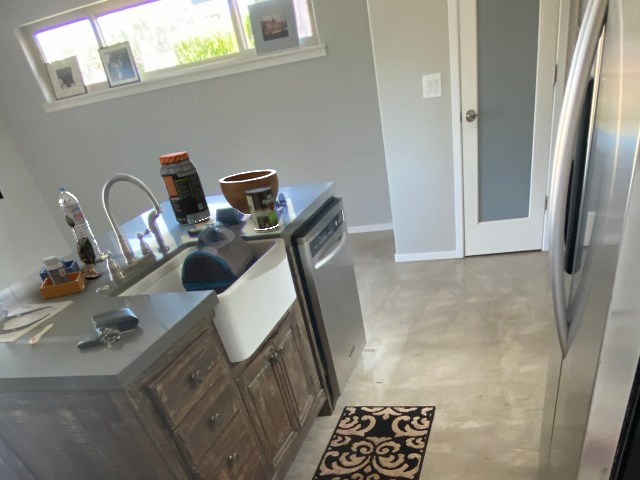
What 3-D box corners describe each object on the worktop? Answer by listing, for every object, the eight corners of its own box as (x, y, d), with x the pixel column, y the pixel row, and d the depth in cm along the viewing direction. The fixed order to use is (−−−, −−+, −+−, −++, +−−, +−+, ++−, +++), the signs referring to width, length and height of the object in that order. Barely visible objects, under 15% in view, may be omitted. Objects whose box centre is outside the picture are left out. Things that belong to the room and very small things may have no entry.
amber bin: (44, 299, 172) (38, 288, 170) (50, 288, 181) (45, 278, 179) (82, 291, 174) (77, 280, 172) (86, 281, 183) (81, 270, 181)
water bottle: (101, 256, 208) (69, 184, 191) (105, 259, 203) (72, 186, 186) (84, 261, 205) (50, 188, 188) (87, 264, 201) (52, 190, 184)
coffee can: (285, 225, 212) (276, 186, 202) (269, 233, 205) (259, 192, 196) (265, 225, 216) (256, 186, 207) (249, 232, 210) (239, 192, 200)
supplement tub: (213, 214, 245) (194, 148, 228) (209, 222, 233) (188, 153, 216) (180, 219, 245) (158, 154, 228) (174, 227, 233) (151, 159, 216)
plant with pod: (111, 269, 191) (84, 208, 178) (95, 279, 183) (65, 216, 170) (91, 271, 193) (63, 210, 179) (74, 281, 184) (44, 219, 171)
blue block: (67, 275, 190) (61, 262, 187) (54, 278, 189) (48, 264, 186) (69, 272, 193) (63, 258, 190) (56, 274, 193) (50, 261, 189)
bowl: (263, 222, 221) (253, 181, 211) (218, 222, 230) (207, 183, 220) (295, 207, 236) (287, 168, 226) (251, 208, 246) (242, 171, 236)
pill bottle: (77, 285, 178) (62, 254, 172) (66, 291, 174) (50, 260, 168) (64, 285, 180) (49, 255, 173) (52, 291, 176) (36, 260, 169)
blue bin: (44, 284, 187) (39, 273, 184) (49, 275, 195) (44, 265, 192) (76, 277, 188) (71, 267, 186) (80, 269, 196) (75, 259, 194)
